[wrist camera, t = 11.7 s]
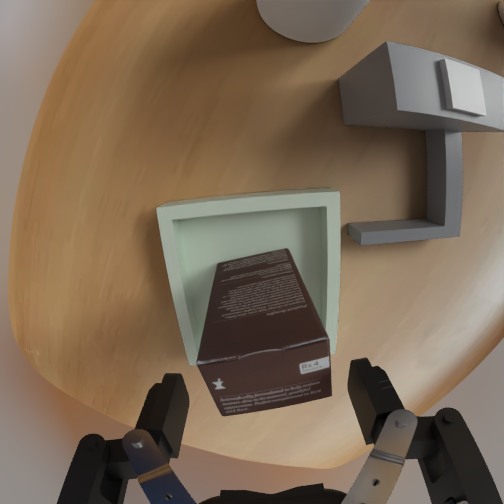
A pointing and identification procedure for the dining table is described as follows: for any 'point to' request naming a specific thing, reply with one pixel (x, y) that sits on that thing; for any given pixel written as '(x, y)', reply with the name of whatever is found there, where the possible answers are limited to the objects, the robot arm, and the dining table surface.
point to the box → (263, 337)
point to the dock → (423, 126)
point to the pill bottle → (310, 17)
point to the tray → (250, 248)
